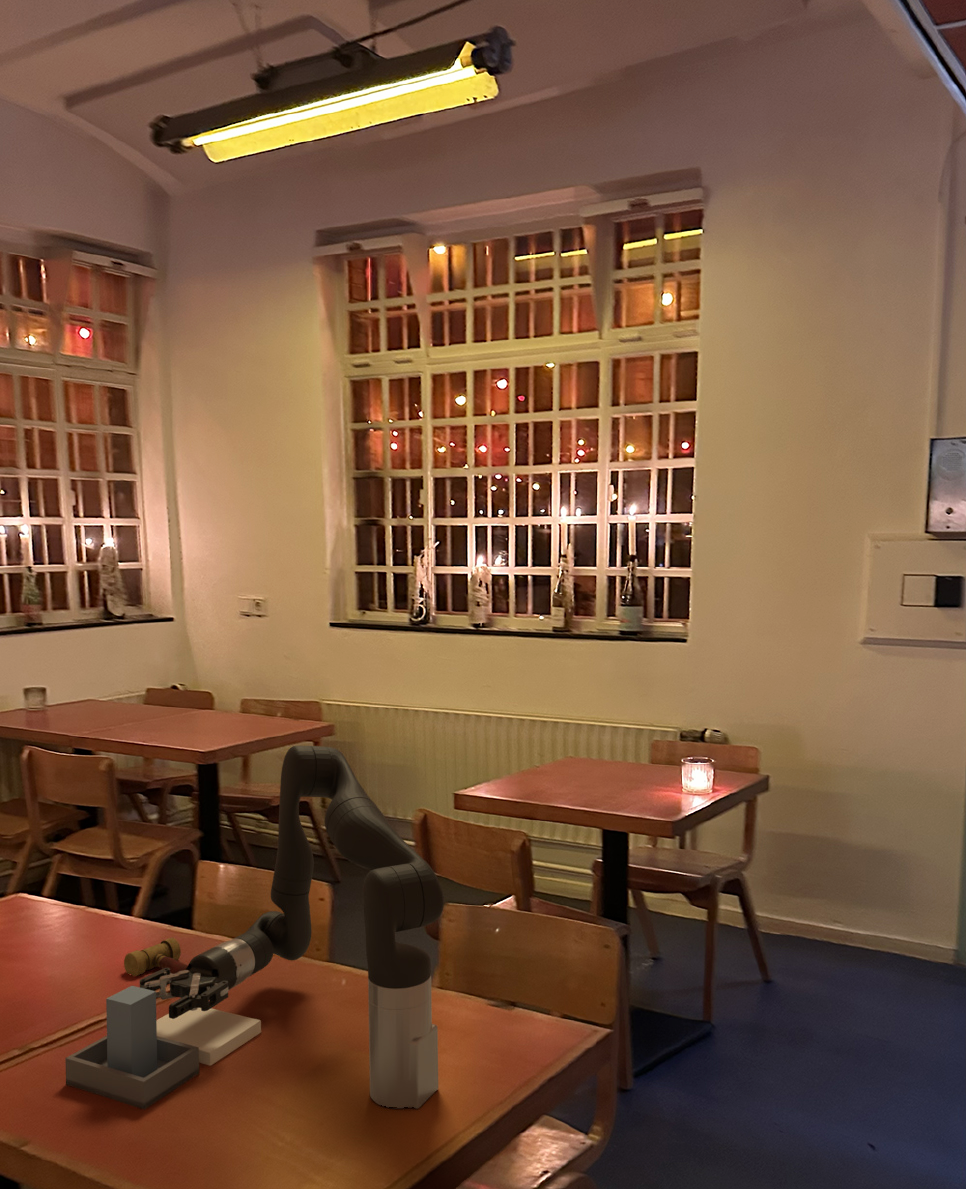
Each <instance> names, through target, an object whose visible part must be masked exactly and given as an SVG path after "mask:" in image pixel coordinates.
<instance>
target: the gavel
mask: <svg viewBox="0 0 966 1189" xmlns="http://www.w3.org/2000/svg"><path fill="white" fill-rule="evenodd" d="M181 952H182V950H181V945H180V943H179V941H178V940H177V939H176V938H174V937H169V938H167V939H163V940H162V941H161V942H159V943H157V944H155V945H152V946H150V947H146V948H144V949H141V950H134V951H131V952H129V953H127V954H125V956H124V958H123V959H124V960H123V967H124V970H125V972H126V974H127V973H128V974H131V975H133V976H132V977H134V976H136V977H137V976H141V975H143V974H145V972H146V971H145V970H147V971H149V970H151V969H154V967H155V968H157V967H159V968H161V970H162V969H164V968H170V973H172V974H175V973H177V972H179V971H184V970H185V969H186V968H187V966H188V964H186V963H183V962H181V961H180V960H179V959H180V958H181V954H182V953H181ZM128 974H127V975H128ZM140 974H141V975H140ZM131 975H130V976H131Z"/></svg>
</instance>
